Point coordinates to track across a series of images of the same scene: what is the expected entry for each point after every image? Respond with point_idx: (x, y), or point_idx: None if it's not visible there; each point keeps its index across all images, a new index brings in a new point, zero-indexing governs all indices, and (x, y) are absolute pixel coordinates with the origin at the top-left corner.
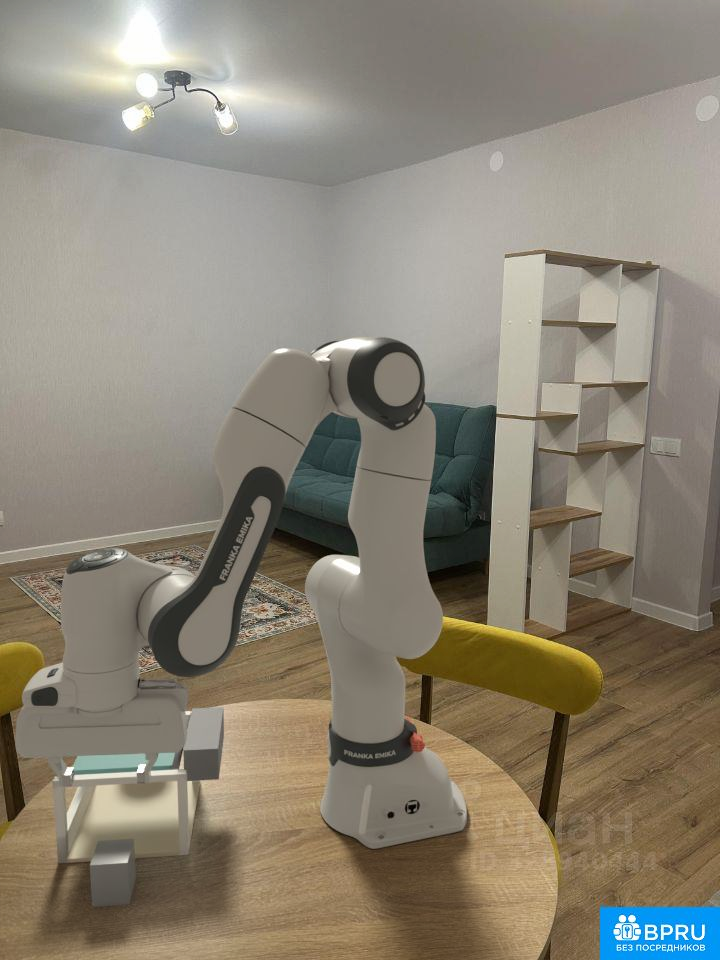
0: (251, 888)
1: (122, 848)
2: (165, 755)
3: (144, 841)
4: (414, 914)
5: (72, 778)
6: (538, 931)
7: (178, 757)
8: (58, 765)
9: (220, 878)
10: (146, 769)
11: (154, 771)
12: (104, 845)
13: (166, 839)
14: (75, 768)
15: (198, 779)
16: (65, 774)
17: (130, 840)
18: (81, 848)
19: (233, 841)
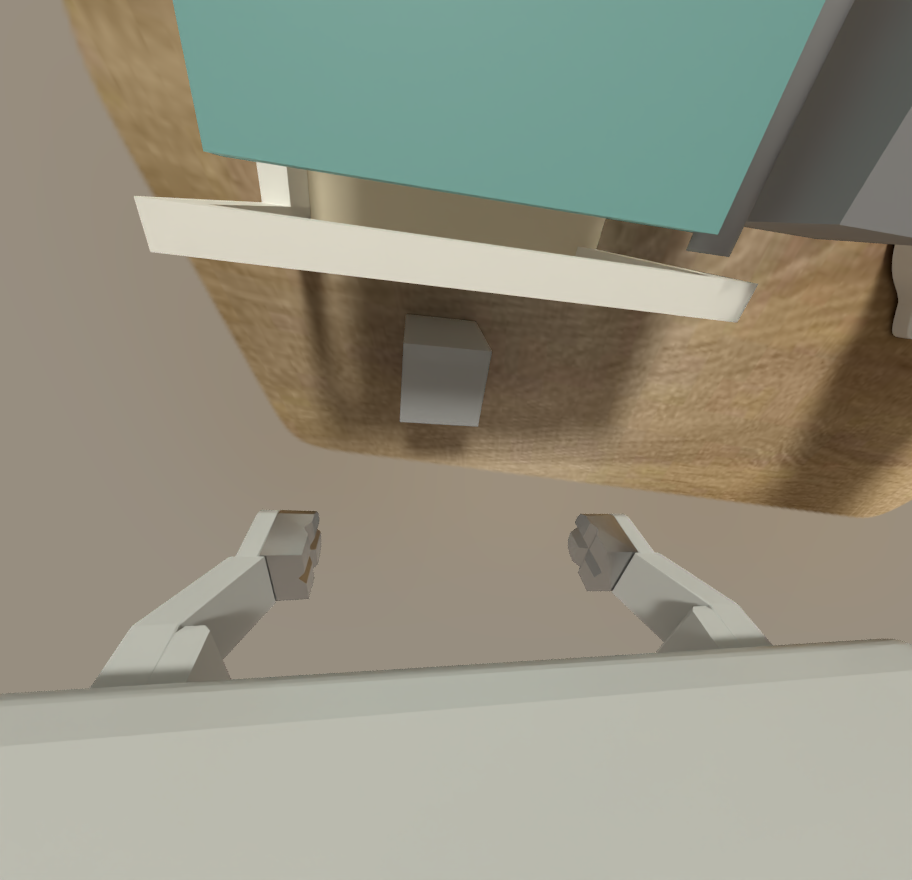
0: (660, 386)
1: (465, 382)
2: (728, 103)
3: (497, 203)
4: (820, 465)
5: (312, 540)
6: (904, 501)
7: (776, 155)
8: (227, 643)
9: (623, 354)
10: (629, 603)
11: (630, 274)
12: (422, 364)
13: (550, 209)
14: (222, 126)
15: (754, 227)
16: (282, 596)
17: (483, 355)
18: (337, 192)
19: (688, 243)
